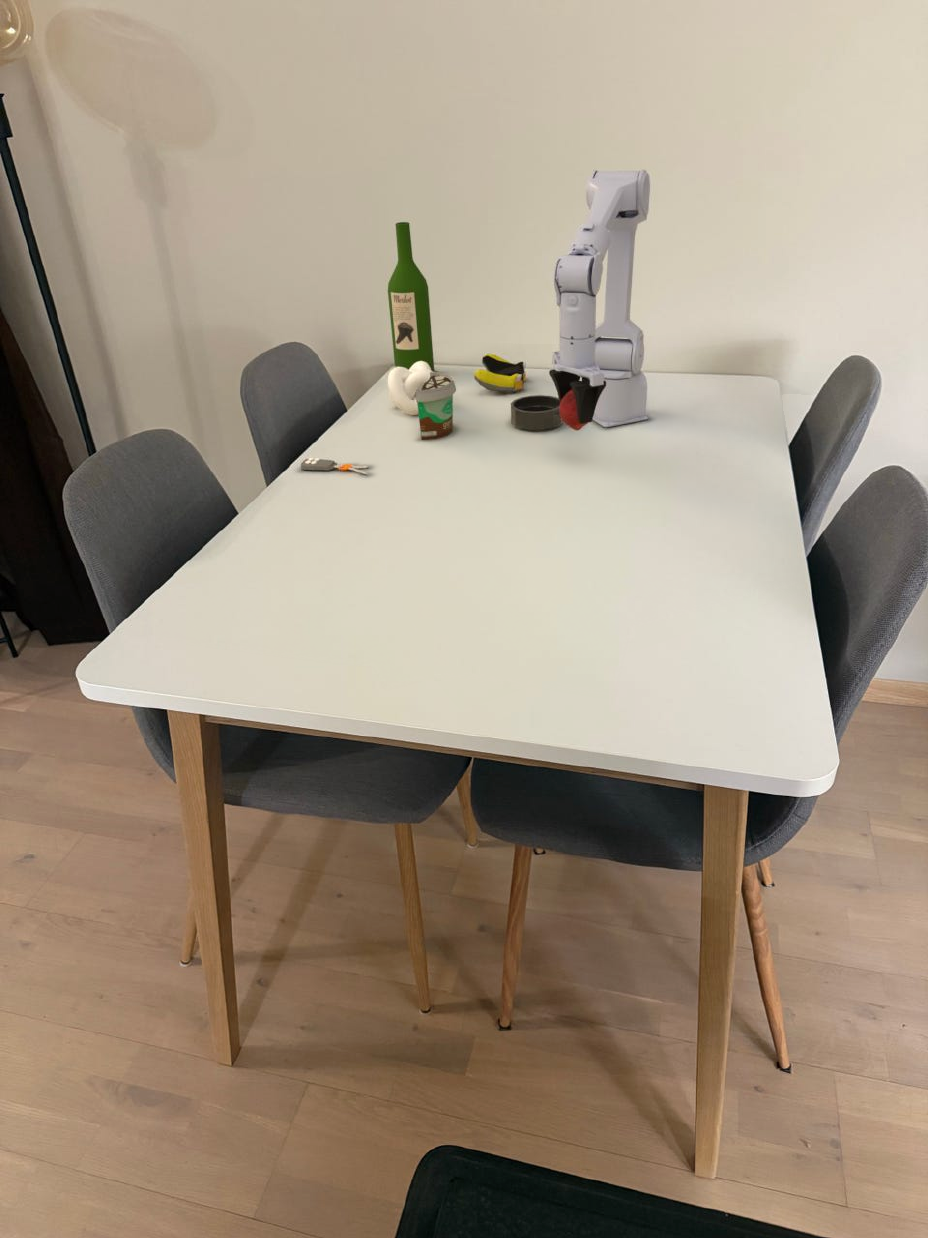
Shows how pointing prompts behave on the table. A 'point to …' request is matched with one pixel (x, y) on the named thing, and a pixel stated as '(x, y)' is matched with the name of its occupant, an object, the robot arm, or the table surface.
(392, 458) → the table surface
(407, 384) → the white knotted piece
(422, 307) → the wine bottle
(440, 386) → the food container
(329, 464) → the key chain
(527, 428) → the bowl
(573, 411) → the onion
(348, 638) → the table surface
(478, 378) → the banana bunch
